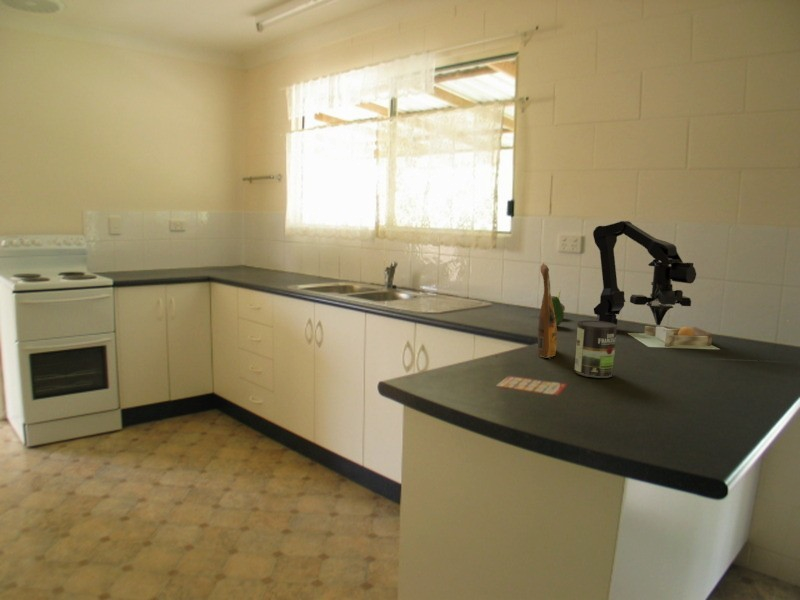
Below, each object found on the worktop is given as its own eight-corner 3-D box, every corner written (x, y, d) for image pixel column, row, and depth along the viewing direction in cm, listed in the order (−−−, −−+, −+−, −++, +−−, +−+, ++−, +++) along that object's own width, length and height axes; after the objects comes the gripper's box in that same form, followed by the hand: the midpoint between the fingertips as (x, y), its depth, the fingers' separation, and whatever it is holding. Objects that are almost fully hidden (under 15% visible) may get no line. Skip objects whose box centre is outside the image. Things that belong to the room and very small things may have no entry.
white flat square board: (648, 348, 191) (648, 346, 191) (626, 334, 213) (626, 332, 213) (720, 350, 190) (720, 349, 190) (690, 336, 211) (691, 335, 211)
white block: (665, 342, 197) (666, 331, 196) (655, 336, 206) (656, 326, 205) (672, 342, 197) (673, 332, 196) (662, 336, 206) (663, 326, 205)
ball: (699, 337, 198) (686, 345, 199) (692, 334, 203) (680, 342, 203) (692, 325, 197) (679, 333, 198) (685, 322, 202) (673, 330, 203)
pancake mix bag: (531, 359, 173) (537, 266, 169) (536, 345, 191) (541, 261, 187) (555, 361, 171) (561, 267, 167) (557, 347, 189) (562, 262, 185)
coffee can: (621, 376, 157) (625, 325, 155) (593, 381, 152) (597, 328, 150) (593, 367, 166) (596, 319, 164) (565, 371, 161) (569, 321, 159)
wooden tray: (665, 346, 191) (666, 335, 191) (643, 333, 212) (644, 323, 211) (716, 348, 190) (718, 336, 190) (689, 335, 211) (690, 324, 210)
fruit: (565, 329, 220) (567, 297, 218) (544, 328, 220) (546, 297, 218) (560, 325, 228) (562, 294, 226) (540, 324, 228) (541, 294, 226)
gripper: (642, 282, 191) (638, 328, 193) (700, 283, 190) (695, 330, 192) (631, 278, 202) (627, 322, 204) (686, 279, 201) (681, 324, 203)
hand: (657, 324), depth 200 cm, fingers closed
